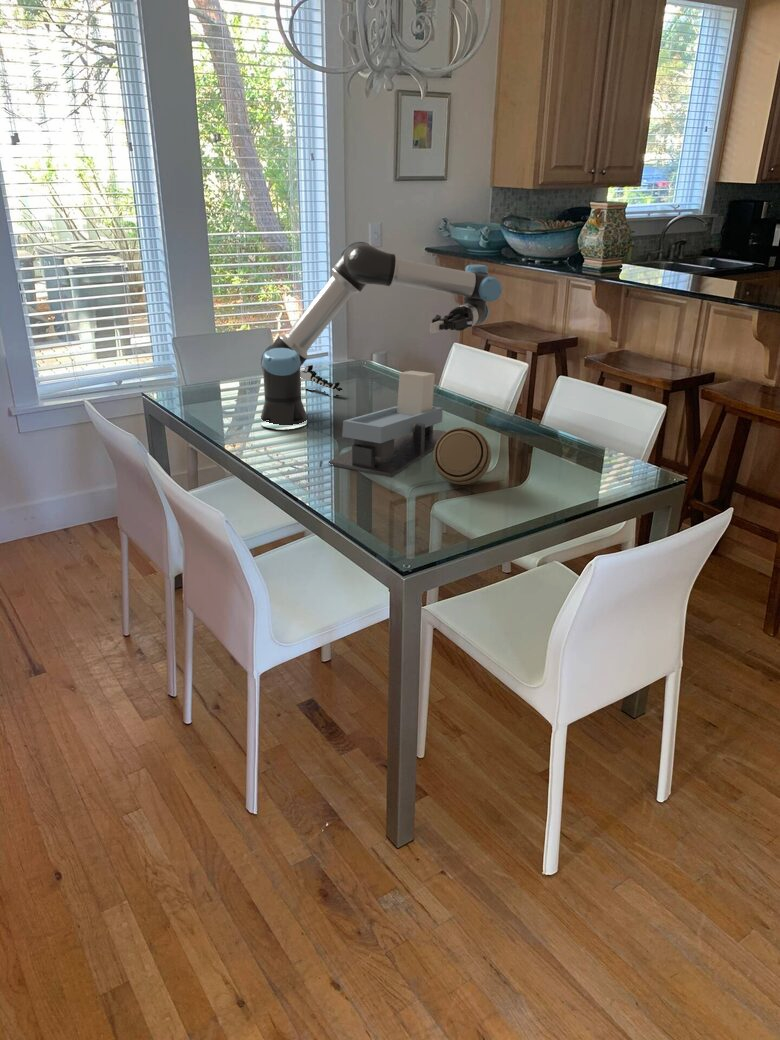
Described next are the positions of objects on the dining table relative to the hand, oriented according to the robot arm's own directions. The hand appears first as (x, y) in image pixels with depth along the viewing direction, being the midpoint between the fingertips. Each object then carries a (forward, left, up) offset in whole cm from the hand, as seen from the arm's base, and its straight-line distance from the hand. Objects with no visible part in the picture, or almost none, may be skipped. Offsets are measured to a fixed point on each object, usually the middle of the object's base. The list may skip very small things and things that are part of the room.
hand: (432, 328), depth 240 cm
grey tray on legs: (-12, -21, -30) cm, 39 cm away
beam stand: (-12, -20, -32) cm, 40 cm away
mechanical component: (+5, -48, -32) cm, 58 cm away
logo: (-37, +46, -32) cm, 67 cm away
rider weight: (-5, -9, -24) cm, 26 cm away
